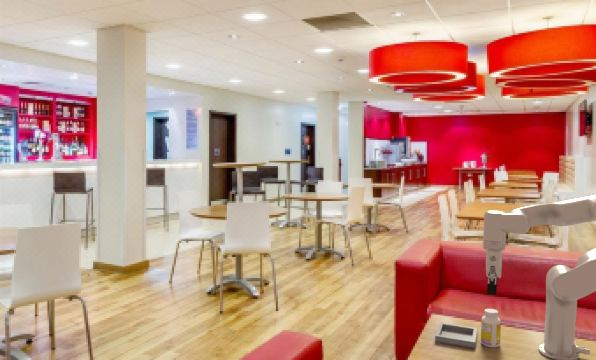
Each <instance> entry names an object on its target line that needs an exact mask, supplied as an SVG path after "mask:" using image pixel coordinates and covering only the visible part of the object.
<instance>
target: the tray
mask: <svg viewBox="0 0 596 360" xmlns="http://www.w3.org/2000/svg"><path fill="white" fill-rule="evenodd" d="M434 337H435V339H434V343H437V344H444V345H450V346H456V347H461V348H467V349H472V350H473V349H476V345H477V344H476V343H477V338H478V327H471V326H465V325H459V324H452V323H446V322H439V325H438V328H437V330H436V333H435V336H434Z"/></svg>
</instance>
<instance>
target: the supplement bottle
mask: <svg viewBox="0 0 596 360" xmlns="http://www.w3.org/2000/svg"><path fill="white" fill-rule="evenodd" d="M501 324H502V320H501V318H499V311H498V310H497V309H494V308H485V309H484V315H482V317H481V324H480V325H481V326H480V327H481V328H480V331H481V332H480V343H481V344H482V345H483V346H485V347H488V348H499V347H500V346H501V331H502V330H501V329H502V327H501V326H502V325H501Z"/></svg>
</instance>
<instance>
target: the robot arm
mask: <svg viewBox="0 0 596 360" xmlns="http://www.w3.org/2000/svg"><path fill="white" fill-rule="evenodd" d="M591 222H596V194H594V195H590V196H584V197H580V198H574V199H568V200H563V201H558V202H550V203H544V204H543V203H542V204H534V205H529V206H524V207H519V208H515V209H511V210H510V211H509V212H508V213H506V212H504V211H501V210H495V209H494V210H492V209H491V210H487V211H485V212H484V214H483V235H482V238H483V239H482V249H484V250H486V251H485V274H486V277H487V278H488V279H487V283H486V294H487V295H489V296H497V289H498V288H497V287H498V278H499V279H501V278H502V269H503V268H502V265H503V252H504V251H505V250H506V237H507V236H506V235H507V234H506V233H510V234H514V235H523V234H526V233H528V231H529V230H530V229H531V227H537V226H545V225H547V226H548V225H550V226H557V227H569V226H574V225H579V224H583V223H591ZM545 289H546V291H545V316H544V318H545V319H544V335H543V337H544V338H543V343H541V344H539V346H538V351H539V352H540V353H541V354H542V355H543V356H545V357H547V358H549V359H552V360H579V359H580V354H583V355H587V356H589V355H591V349H590V348H586V346H584V345H578V344H576V323H577V311H578V300H580V299H582V298H585V297H586V296H589V295H591V294H592V293H595V292H596V247H595V248H592V249H591V250H588V251H586V252H584V253H582V254H581V255H579V257H578V258H577V260H576V266H575V267H573V268H571V267H569V266H567V265H564V264H557V265H554V266H552V267H551V268H549V270H548V272H547V273H546V278H545Z"/></svg>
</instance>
